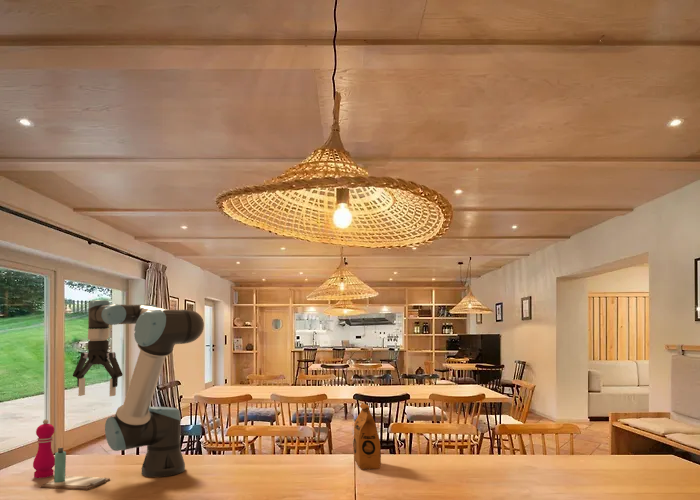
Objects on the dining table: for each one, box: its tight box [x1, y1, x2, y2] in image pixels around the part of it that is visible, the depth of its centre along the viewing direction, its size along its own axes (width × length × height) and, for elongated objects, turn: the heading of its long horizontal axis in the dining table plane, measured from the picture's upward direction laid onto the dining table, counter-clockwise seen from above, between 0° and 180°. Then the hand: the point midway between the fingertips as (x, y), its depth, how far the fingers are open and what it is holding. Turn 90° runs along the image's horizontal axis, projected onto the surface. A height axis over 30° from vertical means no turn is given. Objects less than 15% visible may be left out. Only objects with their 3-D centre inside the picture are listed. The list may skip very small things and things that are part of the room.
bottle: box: [53, 447, 67, 482], centre depth 204 cm, size 3×3×11 cm
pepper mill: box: [32, 419, 55, 479], centre depth 216 cm, size 7×7×20 cm
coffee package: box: [352, 402, 382, 470], centre depth 220 cm, size 10×12×22 cm
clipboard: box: [40, 475, 111, 491], centre depth 203 cm, size 18×12×1 cm, turn 77°
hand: (97, 395), depth 228 cm, fingers open, 13 cm apart
